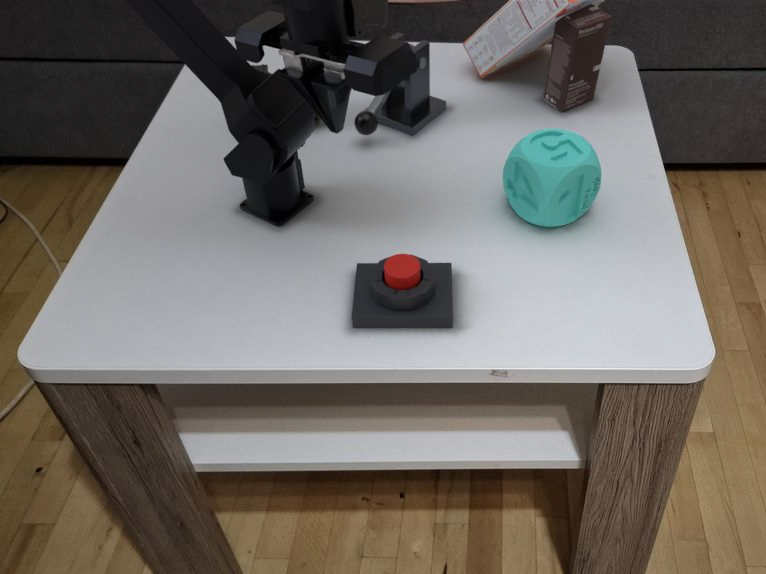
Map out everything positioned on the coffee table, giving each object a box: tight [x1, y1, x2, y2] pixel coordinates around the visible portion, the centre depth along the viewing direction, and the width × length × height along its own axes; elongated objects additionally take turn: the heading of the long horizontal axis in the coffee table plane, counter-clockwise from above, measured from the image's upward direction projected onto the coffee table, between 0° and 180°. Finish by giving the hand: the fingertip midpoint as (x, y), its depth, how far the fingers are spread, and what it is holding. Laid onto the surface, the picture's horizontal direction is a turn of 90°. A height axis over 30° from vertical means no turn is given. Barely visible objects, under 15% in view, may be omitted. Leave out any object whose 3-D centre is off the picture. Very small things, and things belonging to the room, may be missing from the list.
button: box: [384, 253, 421, 290], centre depth 75 cm, size 4×4×2 cm
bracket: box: [363, 32, 447, 137], centre depth 99 cm, size 8×8×10 cm
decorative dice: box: [502, 128, 602, 228], centre depth 85 cm, size 8×8×8 cm
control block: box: [351, 254, 454, 329], centre depth 77 cm, size 10×8×4 cm
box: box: [542, 4, 613, 113], centre depth 99 cm, size 6×4×12 cm
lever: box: [353, 43, 415, 136], centre depth 96 cm, size 13×3×3 cm, turn 145°
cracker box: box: [462, 0, 605, 79], centre depth 102 cm, size 14×6×21 cm
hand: (337, 131), depth 78 cm, fingers closed
